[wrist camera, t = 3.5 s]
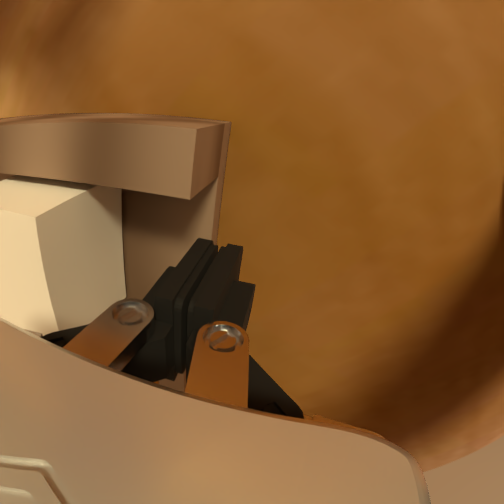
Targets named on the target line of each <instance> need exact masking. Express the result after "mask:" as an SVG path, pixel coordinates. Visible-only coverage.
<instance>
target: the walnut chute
mask: <svg viewBox="0 0 504 504" xmlns="http://www.w3.org/2000/svg"><path fill="white" fill-rule="evenodd" d="M230 129H231V122H227V121H219V120H210V119H201V118H191V117H179V116H166V115H150V114H125V113H71V114H48V115H32V116H20V117H10V118H1V119H0V181H2V180H4V179H7V178H9V177H12V176H14V175H23V176H31V177H40V178H48V179H56V180H64V181H71V182H79V183H86V184H93V185H100V186H107V187H114V188H121V189H122V240H123V260H124V275H125V287H126V298H125V299H130V298H131V299H139V300H143V298H144V297H145V296H146V294H147V293H148V292H149V291H150V289H151V288H152V287H153V285H154V284H155V283H156V282H157V280H158V279H159V278H160V277H161V275H162V274H163V273H164V272H165V270H166V269H167V268H168V267H169V266H173V267H176V266H177V264H178V263H179V262H180V261H181V259H182V258H183V257H184V255H185V254H186V253H187V251H188V250H189V249H190V248H191V246H192V245H193V244H194V242H195V241H196V240H197V239H198V238H203V239H207V240H212V241H213V242H214V245H217V235H218V226H219V217H220V208H221V200H222V191H223V183H224V175H225V167H226V159H227V151H228V144H229V136H230ZM159 385H162V386H165V387H169V388H172V389H175V390H178V391H182V392H185V389H186V369H185V371H184V373H183V374H180V373H178V374H177V376H176V379H175V381H171V380H168V379H162V380H159Z"/></svg>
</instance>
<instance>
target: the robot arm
mask: <svg viewBox="0 0 504 504" xmlns="http://www.w3.org/2000/svg"><path fill="white" fill-rule="evenodd" d="M242 253H243V247H242V246H237V245H232V244H227V246H226V247H223V246H222V247H221V248H220V250H219V252H218V245H214V242H213V241H212V240H207V239H203V238H198V239H197V240H196V241H195V242H194V244H193V245H192V246H191V248H190V249H189V250H188V251H187V253H186V254H185V255H184V257H183V258H182V259H181V261H180V262H179V263H178V264H177V266H176V267H173V266H169V267H168V268H167V269H166V270H165V272H164V273H163V274H162V275H161V277H160V278H159V279H158V280H157V282H156V283H155V284H154V285H153V287H152V288H151V289H150V291H149V292H148V293H147V294H146V296H145V297H144V298H143V300H139V299H131V298H130V299H123V300H120V301H117V302H115V303H114V304H112V305H111V306H110V307H109V308H107V309H106V310H105V311H104V312H103V313H102V314H100V315H99V316H98V317H97V318H96V319H95V320H94V321H92V322H91V323H90V324H87V325H83V326H79V327H74V328H70V329H65V330H61V331H56V332H52V333H49V334H46V335H44V336H43V335H42V333H38V332H34V331H30V330H25V329H22V328H20V327H18V326H16V325H14V324H12V323H10V322H8V321H6V320H4V319H3V318H1V317H0V504H431V502H430V496H429V492H428V488H427V484H426V480H425V477H424V475H423V472H422V470H421V468H420V466H419V464H418V462H417V461H416V460H415V458H414V457H413V456H412V455H411V454H410V453H408V452H407V451H406V450H404V449H403V448H401V447H400V446H398V445H396V444H394V443H392V442H390V441H388V440H386V439H385V438H384V437H383V436H382V435H380V434H378V433H376V432H373V431H370V430H366V429H362V428H359V427H355V426H352V425H348V424H345V423H342V422H339V421H335V420H332V419H329V418H326V417H323V416H320V415H317V414H314V416H313V417H311V416H308V415H305V414H303V412H302V410H301V409H300V408H299V406H298V405H297V404H296V403H295V402H294V401H293V400H292V399H291V398H290V397H289V396H288V395H287V394H286V393H285V392H284V391H283V390H282V389H281V388H280V387H279V386H278V384H277V383H276V382H275V381H274V380H273V379H272V378H271V377H270V376H269V375H268V374H267V373H266V372H265V371H264V370H263V369H262V368H261V367H260V366H259V364H258V363H257V362H256V361H255V360H254V359H253V358H252V357H251V356H250V355H249V337H248V334H247V333H246V328H247V325H248V321H249V317H250V312H251V308H252V302H253V297H254V291H255V284H251V283H246V282H241V281H238V280H239V273H240V266H241V260H242ZM185 369H186V389H185V392H182V391H178V390H175V389H172V388H169V387H165V386H162V385H159V380H162V379H168V380H171V381H175V379H176V376H177V374H178V373H180V374H183V373H184V371H185Z"/></svg>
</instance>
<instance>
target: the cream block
mask: <svg viewBox="0 0 504 504" xmlns="http://www.w3.org/2000/svg"><path fill="white" fill-rule="evenodd" d="M125 298H126V287H125V275H124V260H123V240H122V189H121V188H114V187H107V186H100V185H93V184H86V183H79V182H71V181H64V180H56V179H48V178H40V177H31V176H23V175H14V176H12V177H9V178H7V179H4V180H2V181H0V317H1V318H3V319H4V320H6V321H8V322H10V323H12V324H14V325H16V326H18V327H20V328H22V329H25V330H30V331H34V332H38V333H42V335H43V336H44V335H46V334H49V333H52V332H56V331H61V330H65V329H70V328H74V327H79V326H83V325H87V324H90V323H91V322H92V321H94V320H95V319H96V318H97V317H98V316H99V315H100V314H102V313H103V312H104V311H105V310H106V309H107V308H109V307H110V306H111V305H112V304H114V303H115V302H117V301H120V300H123V299H125Z"/></svg>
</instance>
